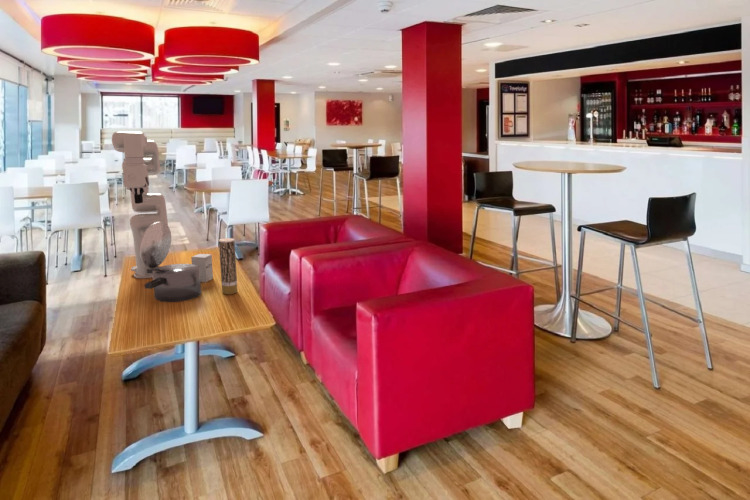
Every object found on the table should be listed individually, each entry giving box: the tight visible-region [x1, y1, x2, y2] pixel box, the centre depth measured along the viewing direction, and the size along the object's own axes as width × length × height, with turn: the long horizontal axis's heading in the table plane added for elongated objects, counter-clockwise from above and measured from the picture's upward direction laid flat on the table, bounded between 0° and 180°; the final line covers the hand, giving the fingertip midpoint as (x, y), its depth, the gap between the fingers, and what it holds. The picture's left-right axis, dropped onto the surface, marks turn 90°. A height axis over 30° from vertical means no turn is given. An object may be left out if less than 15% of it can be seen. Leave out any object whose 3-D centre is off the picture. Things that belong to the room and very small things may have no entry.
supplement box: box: [191, 253, 214, 283], centre depth 271 cm, size 7×7×13 cm
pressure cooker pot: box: [144, 263, 202, 303], centre depth 244 cm, size 23×30×12 cm
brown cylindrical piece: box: [218, 237, 238, 295], centre depth 250 cm, size 7×7×25 cm
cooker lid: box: [139, 222, 172, 268], centre depth 247 cm, size 21×21×4 cm
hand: (139, 203), depth 244 cm, fingers closed
